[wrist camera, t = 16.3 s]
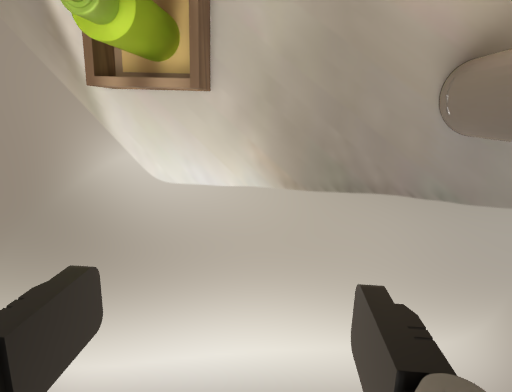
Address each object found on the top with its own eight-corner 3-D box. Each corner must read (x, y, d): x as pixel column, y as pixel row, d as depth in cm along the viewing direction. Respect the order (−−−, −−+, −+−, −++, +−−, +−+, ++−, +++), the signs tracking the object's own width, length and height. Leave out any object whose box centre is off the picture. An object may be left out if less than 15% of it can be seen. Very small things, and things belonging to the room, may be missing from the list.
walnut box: (209, -23, 41) (197, -45, 35) (210, 91, 44) (198, 88, 38) (104, -24, 42) (75, -45, 36) (112, 88, 45) (86, 85, 39)
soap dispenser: (189, 61, 43) (111, 20, 23) (135, 62, 43) (15, 23, 24) (187, 8, 41) (102, -81, 22) (131, 10, 42) (-1, -76, 22)
